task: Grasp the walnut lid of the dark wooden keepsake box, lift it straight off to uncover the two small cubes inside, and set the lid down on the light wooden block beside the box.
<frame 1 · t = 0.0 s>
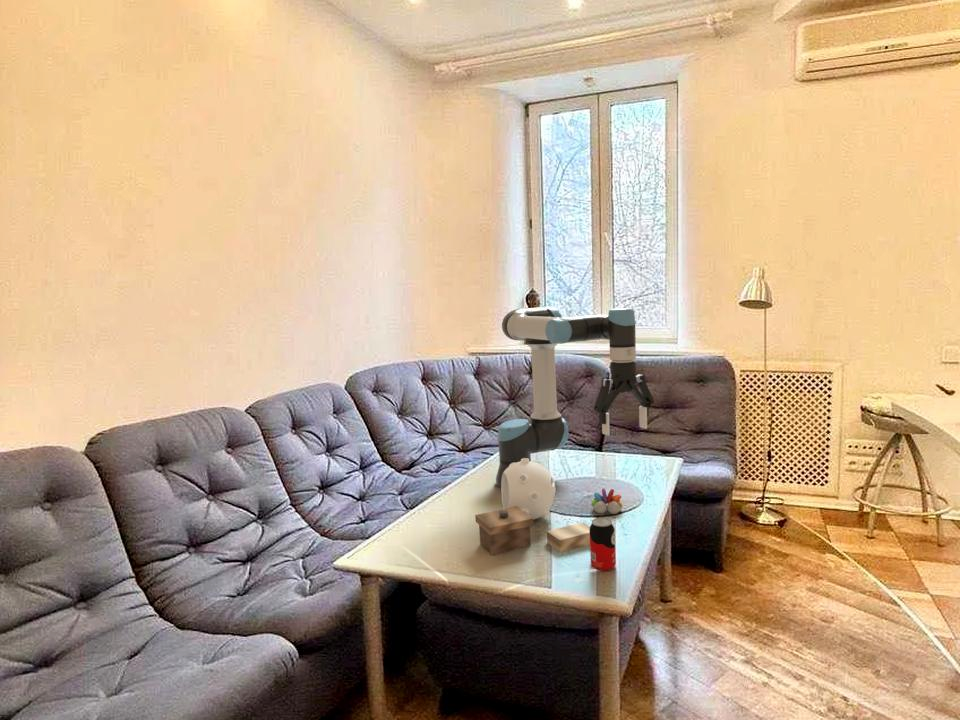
hand: (625, 431, 177), 28 cm above the table, fingers open, 13 cm apart
beverage can: (603, 567, 152), on the table
lid: (504, 523, 166), point 7 cm above the table, touching box
cream cube: (513, 543, 168), point 1 cm above the table, touching box
terracotta cube: (497, 547, 166), point 1 cm above the table, touching box
rainbow disc baby toy: (607, 511, 190), on the table
box: (505, 547, 167), on the table
decorative ball: (529, 520, 185), on the table
light wooden block: (572, 544, 166), on the table
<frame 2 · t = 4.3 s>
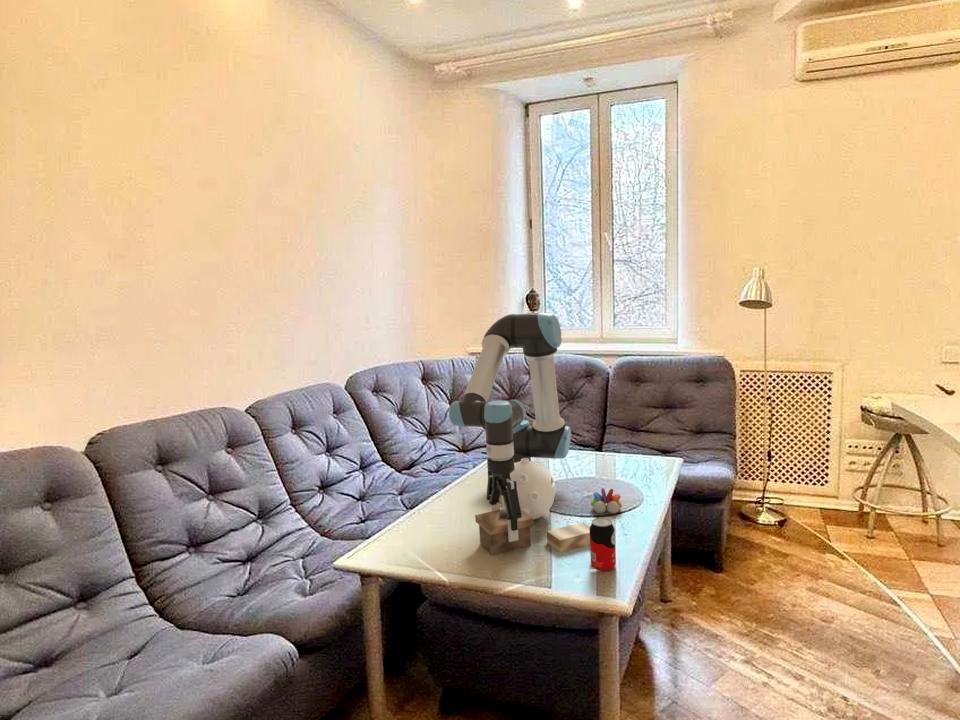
hand: (504, 533, 166), 4 cm above the table, fingers closed on lid, 10 cm apart
lid: (504, 523, 166), point 7 cm above the table, touching box, gripper
everything else where it was.
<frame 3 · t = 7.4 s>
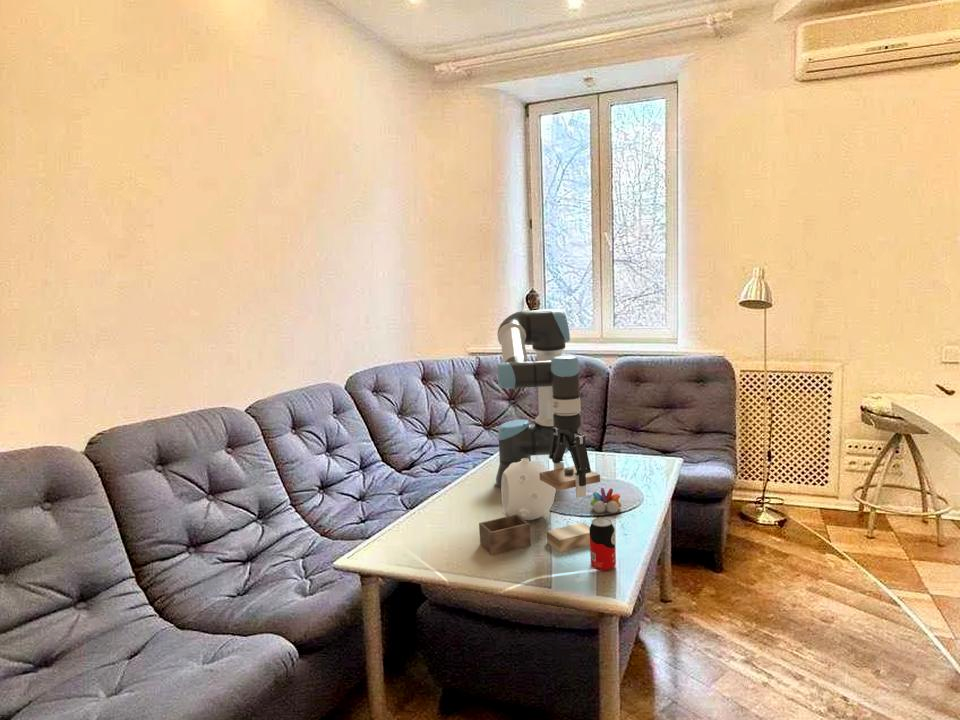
hand: (570, 490, 164), 16 cm above the table, fingers closed on lid, 10 cm apart
lid: (569, 480, 164), point 19 cm above the table, touching gripper
everything else where it was.
when the fingers open (2 cm above the table, at t = 10.6 s): lid drops 1 cm, resting on light wooden block.
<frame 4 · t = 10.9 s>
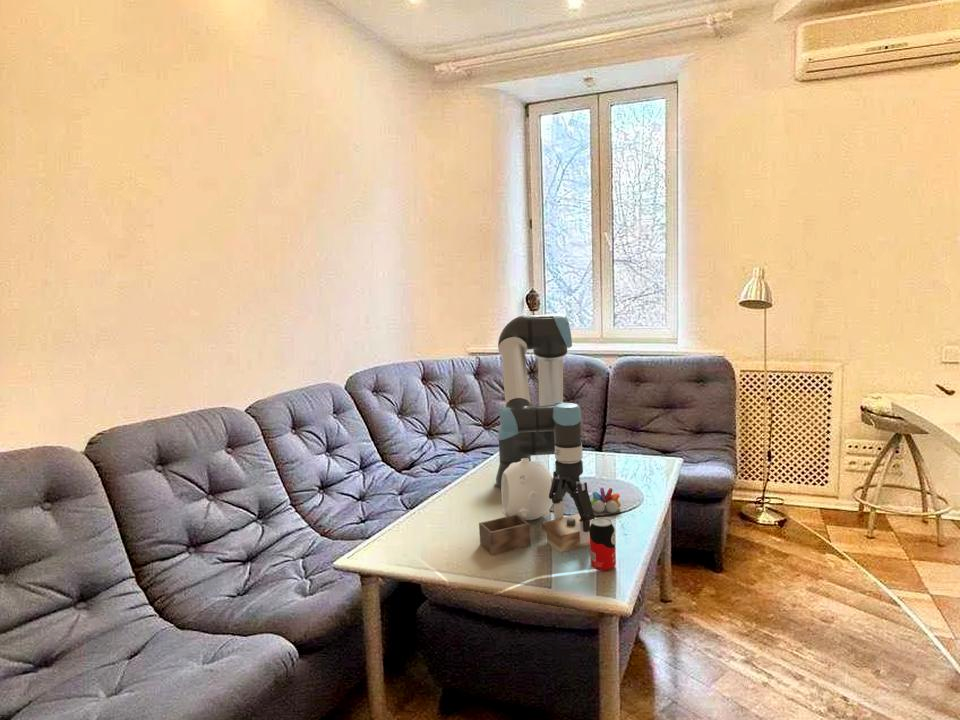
hand: (571, 533, 166), 3 cm above the table, fingers open, 13 cm apart
lid: (571, 530, 166), point 4 cm above the table, touching light wooden block
everything else where it was.
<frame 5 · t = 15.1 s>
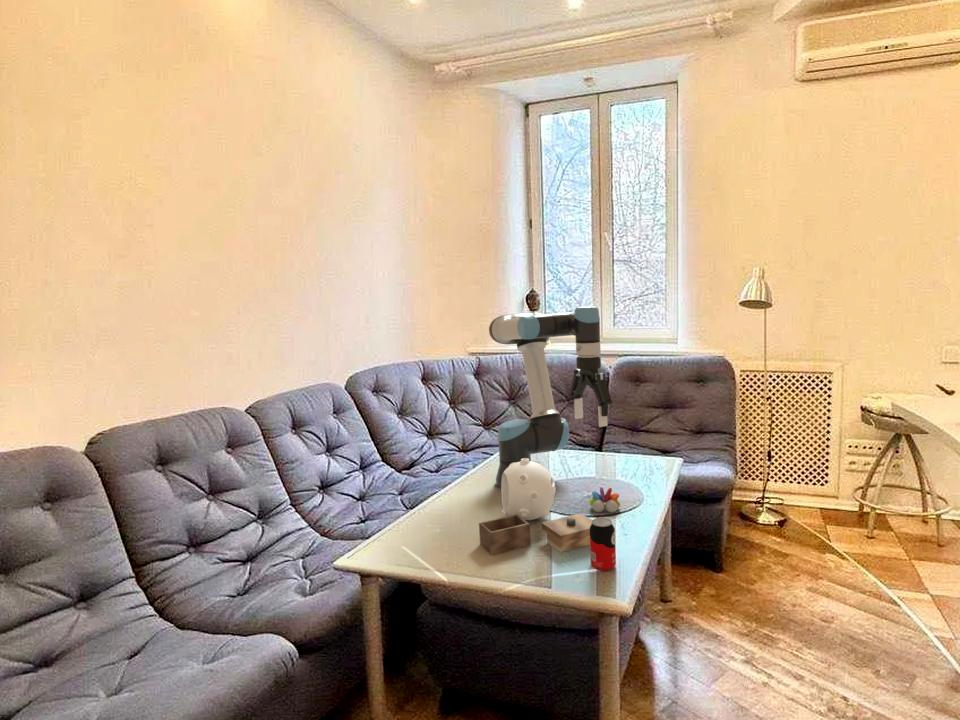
hand: (590, 422, 188), 29 cm above the table, fingers open, 13 cm apart
at the end: lid inside the target area on the light wooden block (0.0 cm from its centre), point 4.0 cm above the light wooden block's base; lid touching light wooden block; the gripper is holding nothing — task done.
